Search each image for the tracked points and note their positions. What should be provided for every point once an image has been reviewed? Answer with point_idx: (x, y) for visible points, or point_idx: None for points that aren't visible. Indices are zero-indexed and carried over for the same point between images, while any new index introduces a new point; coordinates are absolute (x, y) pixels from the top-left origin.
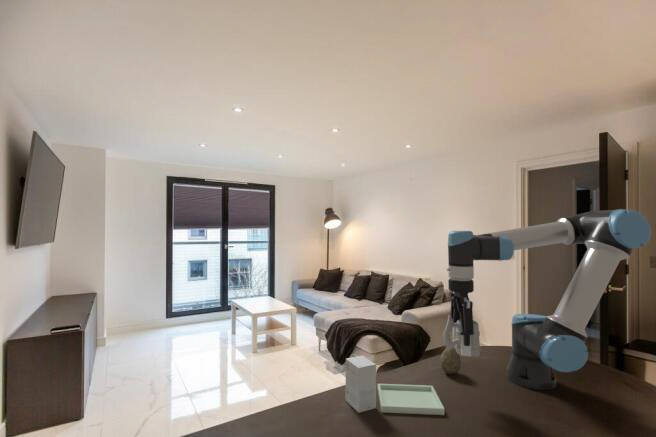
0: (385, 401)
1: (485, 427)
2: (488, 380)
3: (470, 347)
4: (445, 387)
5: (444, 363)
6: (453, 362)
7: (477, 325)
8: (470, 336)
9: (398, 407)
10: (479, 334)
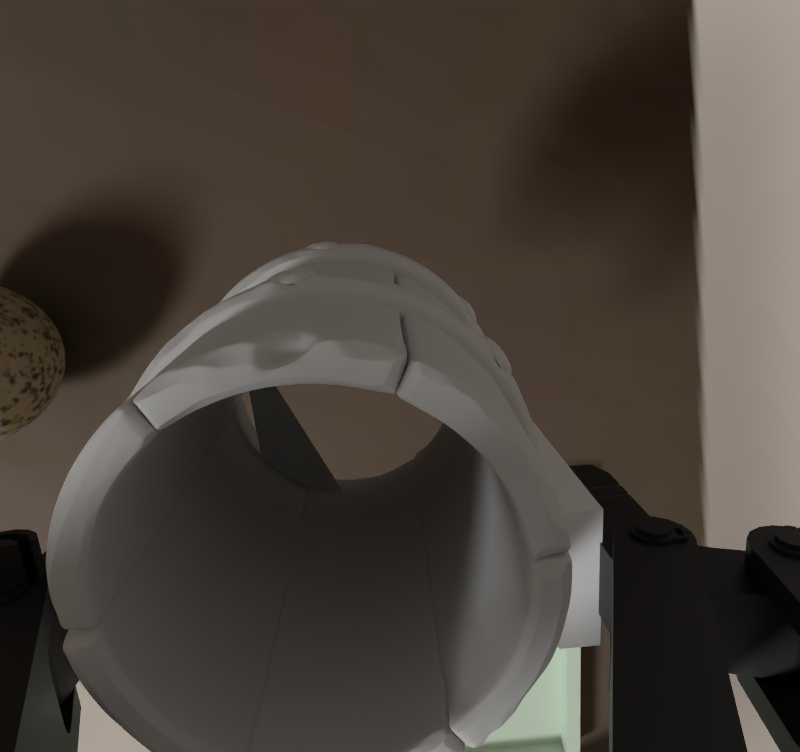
0: (493, 737)
1: (667, 304)
2: (61, 82)
3: (537, 433)
4: (252, 419)
5: (28, 422)
6: (30, 363)
7: (486, 390)
8: (593, 499)
9: (578, 698)
10: (427, 299)
